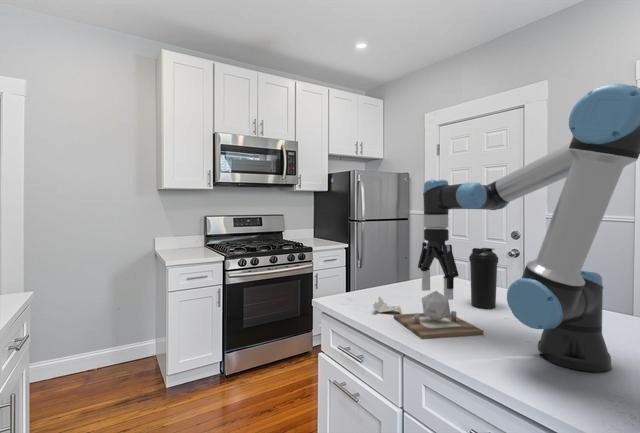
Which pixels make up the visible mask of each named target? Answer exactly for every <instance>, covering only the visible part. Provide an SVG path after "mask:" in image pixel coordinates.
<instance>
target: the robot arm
mask: <svg viewBox="0 0 640 433" xmlns="http://www.w3.org/2000/svg"><path fill="white" fill-rule="evenodd" d="M568 127H569V128H568V129H569V130H570V132H571V134H572V139H571V141H570V142H569V143H567V144H565V145H563V146H562V147H560V148H558V149H556V150H555V149H554V151H552V152H549V153H547V154H545V155H543V156H542V157H540V158H538V159H535V160H533V161H532V162H530V163H528V164H527V165H524V166H523V167H520V168H518V169H516V170H514V171H512V172H511V173H509V174H506V175H504V176H502V177H501V178H498V179H497V180H495V181H493V182H490V183H489V184H486V185H485V184H482V183H480V182H465V183H457V184H456V183H455V184H449V181H448V180H446V179H428V180H426V181H425V182H424V184H423V192H422V193H423V194H422V195H423V227H424V228H425V229H424V230H423V240H424V241H423V242H422V245H421V246H422V247H421V251H420V252H421V253H420V256H419V260H418V264H417V268H418V269H420V271H421V291H423V292H425V291H431V266H432V263H433V261H434V259H436V260H438V263H439V265H440V267H441V270H442V273H443V274H444V276H443V296H444V300H448V301H449V300H454V289H455V288H454V285H455V283H454V282H455V281H454V280H455V278H457V277H459V274H460V273H459V271H458V268H457V265H456V264H457V263H456V260H455V257H454V254H453V246H452V244H446V242H447V241H449V239H450V237H449V236H450V235H449V229H447V228H448V227H449V210H489V211H496V210H502V209H504V208H506V207H507V206H508V205H509V203H510V202H513V201H515V200H517V199H520V198H522V197H524V196H526V195H529V194H531V193H534V192H536V191H538V190H540V189H543V188H545V187H547V186H549V185H552V184H554V183H557V182H559V181H561V180H563V179H565V181H564V183H563V187H562V189H561V192H560V194H559V197H558V201H557V203H556V206H555V209H554V211H553V214H552V216H551V219H550V221H549V225H548V228H547V230H546V232H545V235H544V238H543V240H542V243H541V246H540V249H539V252H538V254H537V257H536V258H535V259H533V260H531V261H528V262H526V265H525V267H524V269H523V270H524V271H523V273H522V276H521V278H518V279H516V280H515V281H513V282H511V284H510V285H509V287H508V288H507V292H506V300H507V301H506V302H507V305H508V307H509V308H510V311H511V314H512V315H513V316H514V318H515V319H517V320H518V322H520V323H521V324H523V325H525V327H528V328H531V329H535V330H543V331H542V333H541V335H540V340H538V341H537V342H538V343H537V350H538V352H540V353H538V355H539V356H540V357H542V358H543V359H544V360H546V361H549V362H551V363H553V364H555V365H559V366H561V367H564V368H570V369H573V370H579V371H586V372H605V371H610V369H611V368H612V357H611V355H610V353H609V351H608V347H607V344H606V341H605V338H604V336H603V297H604V296H603V295H604V294H603V293H604V292H603V291H604V284H603V278H602V275H601V274H600V273H598V272H594V271H585V270H582V269H583V266H584V264H585V262H586V259H587V257H588V255H589V252H590V250H591V248H592V245H593V243H594V240H595V237H596V236H597V232H598V231H599V228H600V226H601V223H602V221H603V219H604V215H605V213H606V211H607V208H608V206H609V204H610V202H611V199H612V197H613V195H614V192H615V190H616V187H617V185H618V183H619V180H620V177H621V175H622V172H623V170H624V168H625V167H626V166H628V165H631V164H632V163H634V162H637V161H638V160H639V157H640V87H639V86H635V85H629V84H625V83H609V84H604V85H601V86H598V87H597V88H594V89H592V90H591V91H588V93H585V95H583V96H582V97H581V98H580V99H579V100H578V101H577V102H576V103H575V104H574V106H573V107H572V109H571V112H570V114H569V117H568ZM425 241H427V242H425Z"/></svg>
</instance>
